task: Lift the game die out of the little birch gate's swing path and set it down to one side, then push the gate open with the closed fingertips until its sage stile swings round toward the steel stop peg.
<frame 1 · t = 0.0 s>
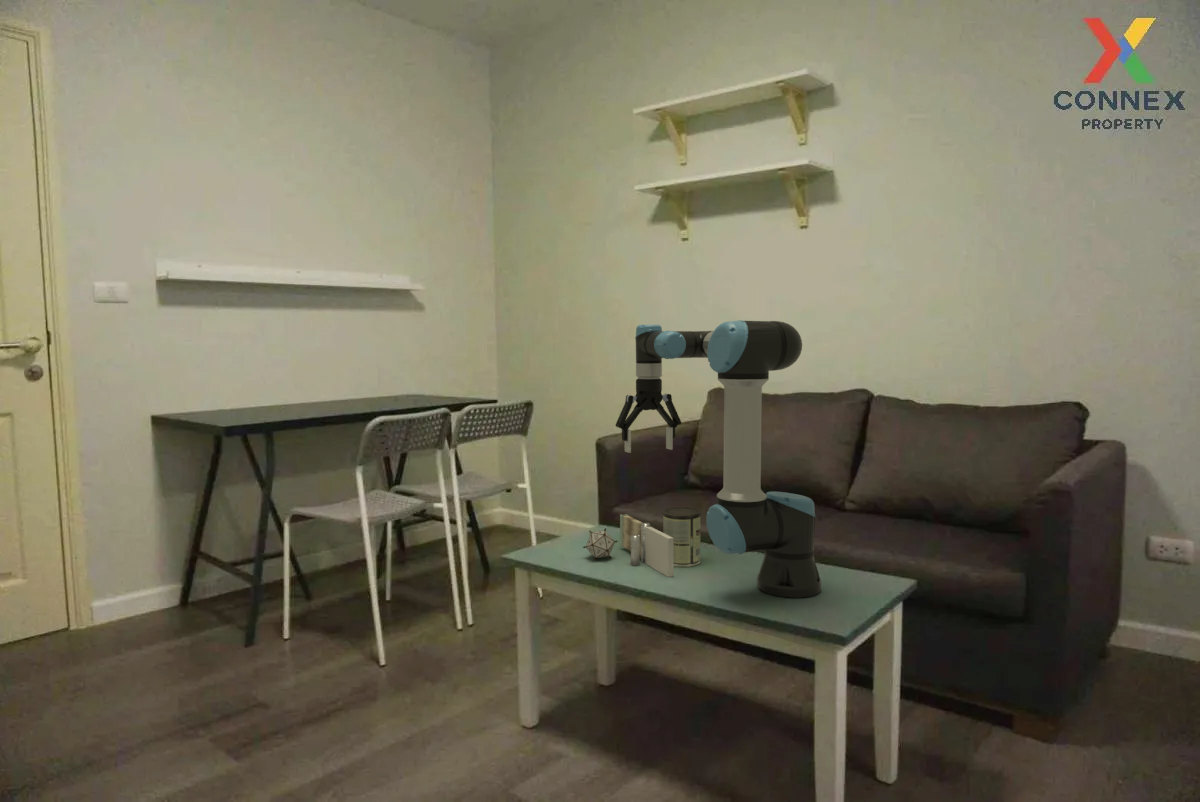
hand: (648, 450, 225), 28 cm above the table, tool pointing down, fingers open, 13 cm apart
game die: (600, 559, 214), on the table
light grey flat panel: (659, 569, 203), on the table
gate: (632, 534, 217), point 6 cm above the table, hinge at 0.0°
stop peg: (635, 564, 208), on the table
coffee can: (681, 562, 210), on the table
gate post: (645, 561, 211), on the table
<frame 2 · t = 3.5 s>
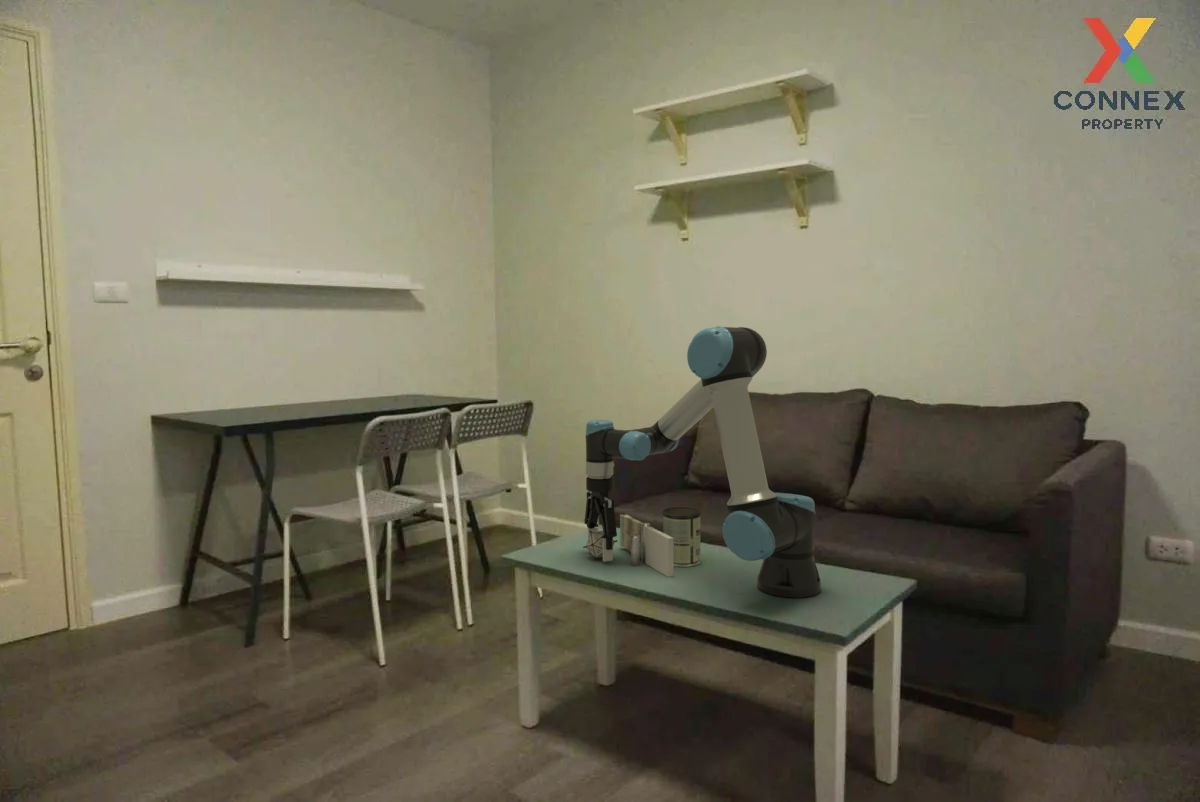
hand: (600, 555, 214), 1 cm above the table, tool pointing down, fingers closed on game die, 10 cm apart
game die: (600, 559, 214), on the table, touching gripper
everything else where it was.
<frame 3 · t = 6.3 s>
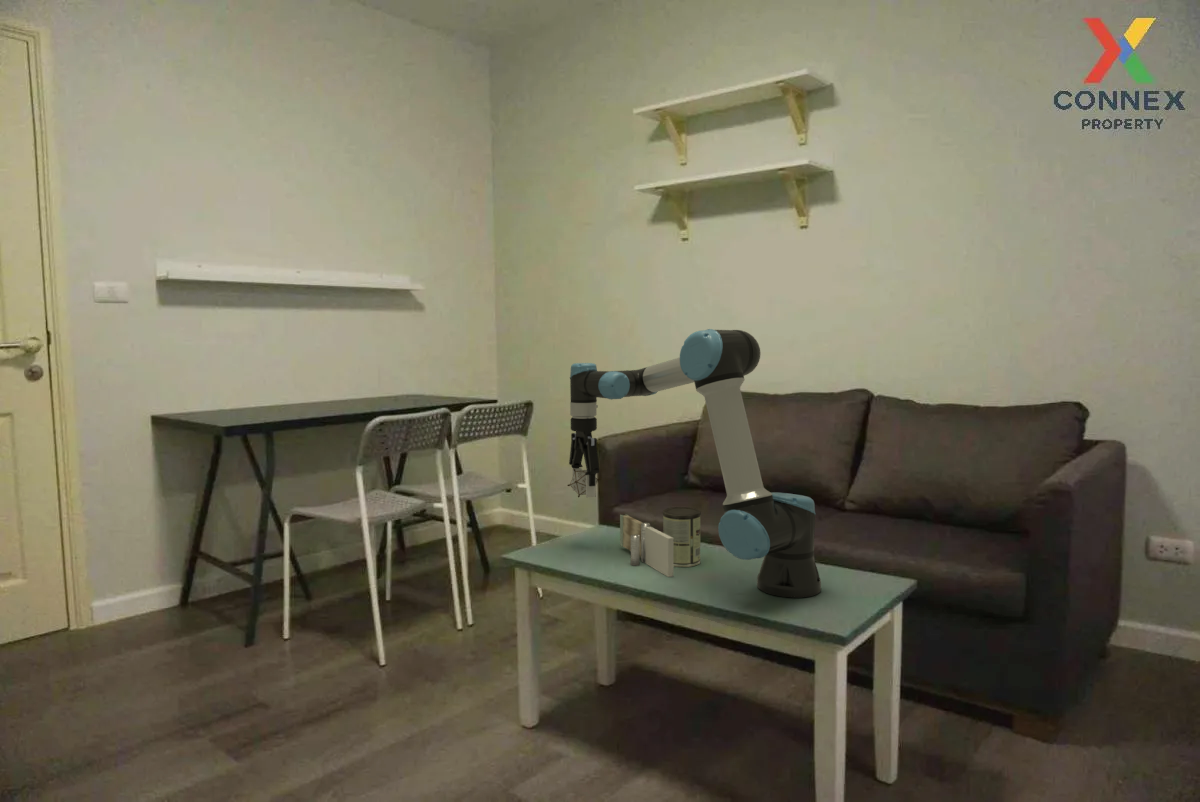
hand: (583, 493, 223), 16 cm above the table, tool pointing down, fingers closed on game die, 10 cm apart
game die: (583, 496, 223), point 15 cm above the table, touching gripper
everything else where it was.
when the fingers open (3 cm above the table, at t = 9.3 s): game die drops 2 cm, on the table.
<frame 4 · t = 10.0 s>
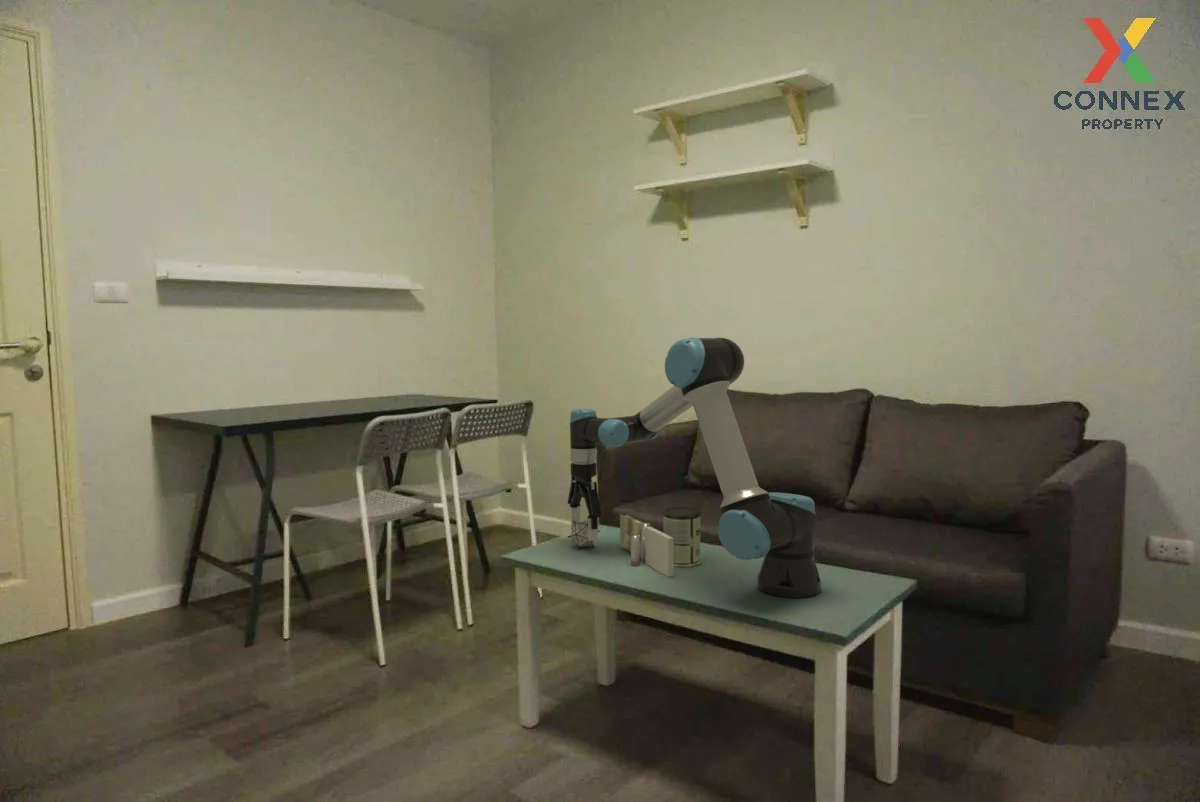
hand: (584, 534, 225), 4 cm above the table, tool pointing down, fingers open, 13 cm apart
game die: (583, 548, 225), on the table
everything else where it was.
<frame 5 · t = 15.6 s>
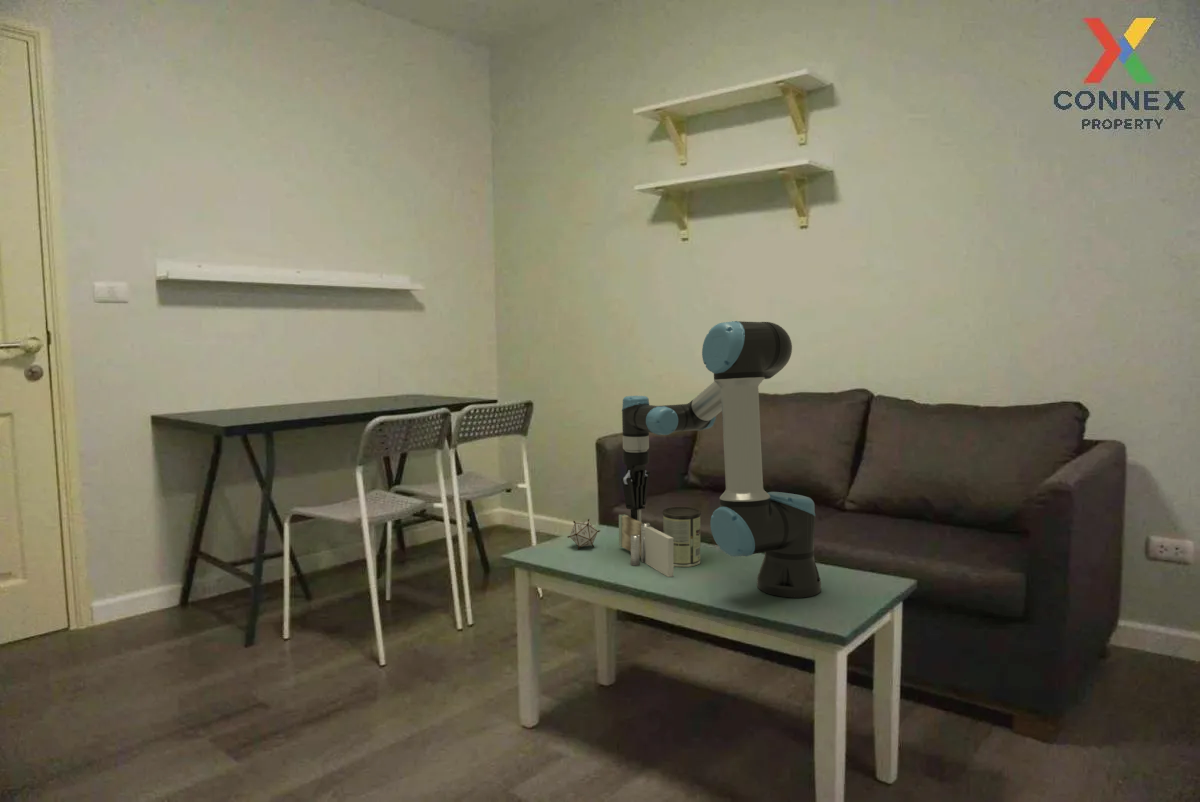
hand: (636, 531, 221), 5 cm above the table, tool pointing down, fingers closed
gate: (632, 535, 217), point 6 cm above the table, hinge at 1.8°, touching gripper
everything else where it was.
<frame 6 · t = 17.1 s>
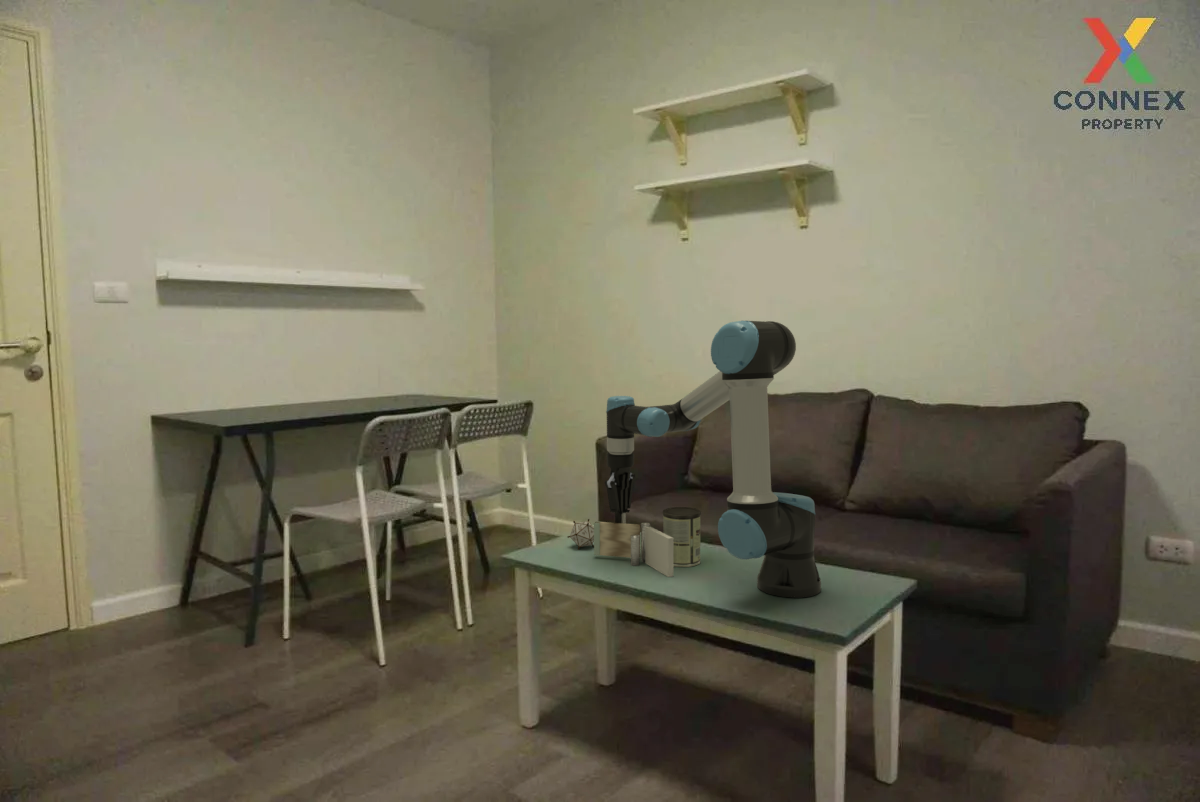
hand: (620, 535, 215), 6 cm above the table, tool pointing down, fingers closed
gate: (617, 539, 212), point 6 cm above the table, hinge at 49.9°, touching gripper
everything else where it was.
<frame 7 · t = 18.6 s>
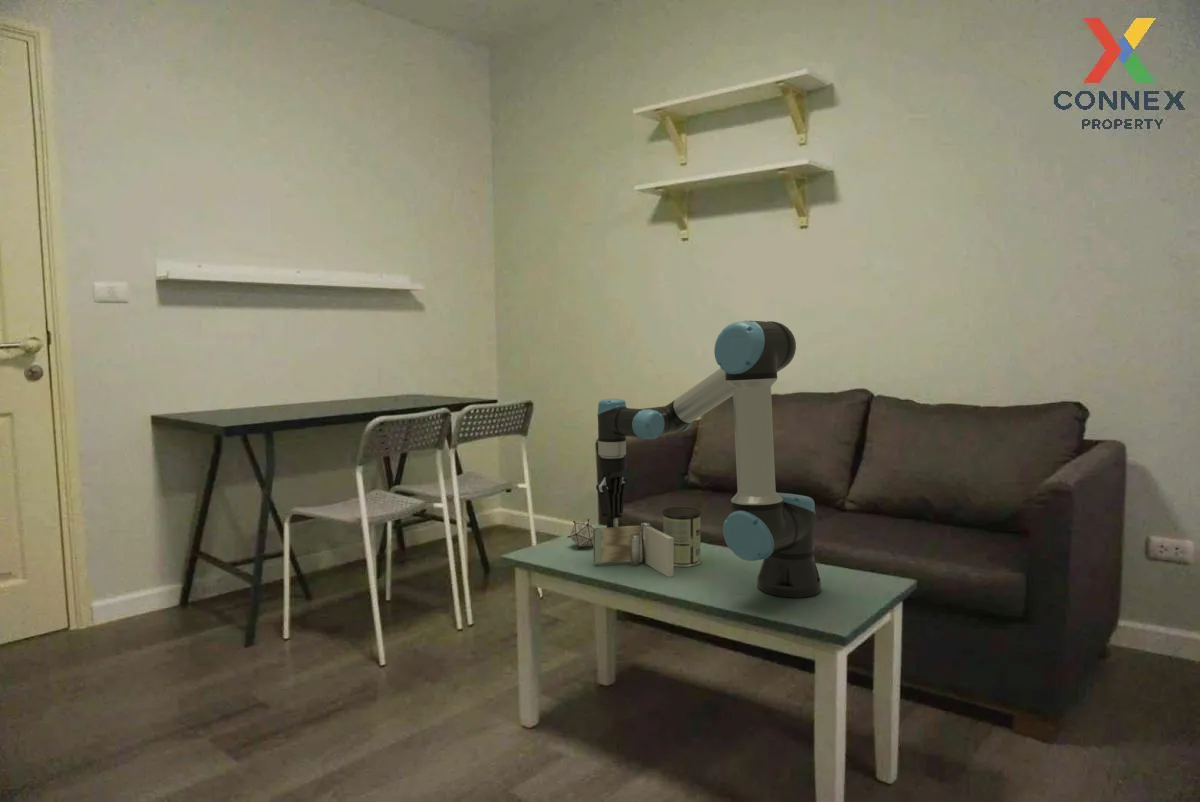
hand: (612, 541, 211), 6 cm above the table, tool pointing down, fingers closed
gate: (617, 543, 208), point 6 cm above the table, hinge at 81.5°, touching gripper, stop peg
everything else where it was.
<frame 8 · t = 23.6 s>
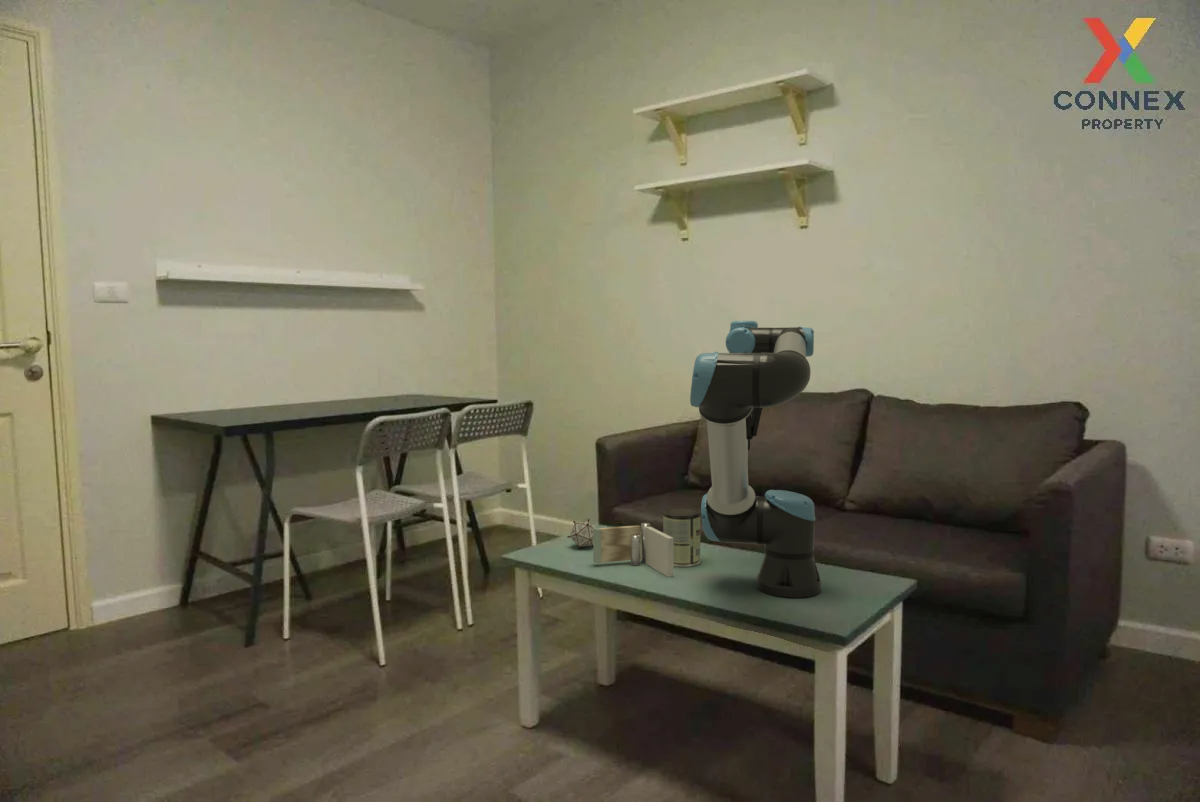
hand: (742, 462, 213), 26 cm above the table, tool pointing down, fingers closed
gate: (617, 543, 208), point 6 cm above the table, hinge at 81.5°, touching stop peg
everything else where it was.
at the end: gate at +82° (first picture: +0°); game die inside the target area (0.9 cm from its centre), on the table; the gripper is holding nothing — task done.
